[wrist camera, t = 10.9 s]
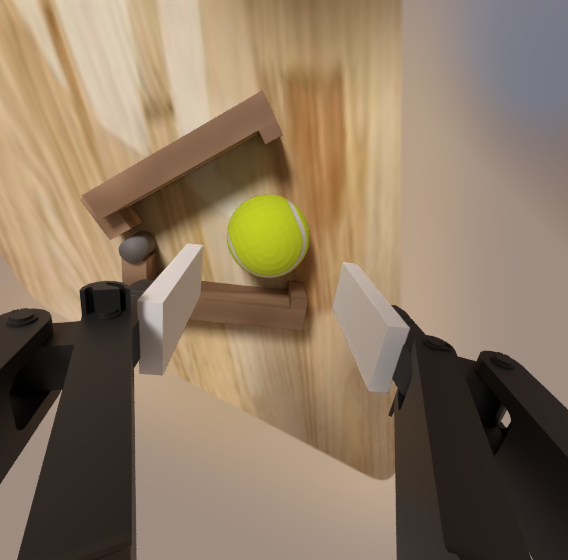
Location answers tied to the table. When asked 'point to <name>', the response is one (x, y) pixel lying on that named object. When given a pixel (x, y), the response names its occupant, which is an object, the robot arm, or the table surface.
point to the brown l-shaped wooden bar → (222, 293)
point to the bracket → (178, 162)
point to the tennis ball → (268, 236)
